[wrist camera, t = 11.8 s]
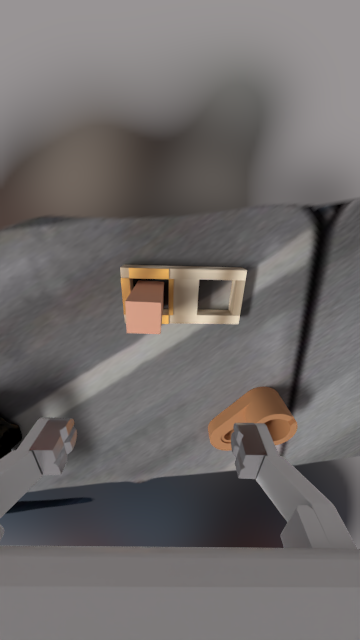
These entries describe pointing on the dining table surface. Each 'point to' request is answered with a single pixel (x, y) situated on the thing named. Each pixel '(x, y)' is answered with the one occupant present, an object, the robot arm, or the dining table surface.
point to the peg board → (189, 291)
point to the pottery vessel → (8, 437)
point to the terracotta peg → (145, 307)
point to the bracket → (254, 417)
